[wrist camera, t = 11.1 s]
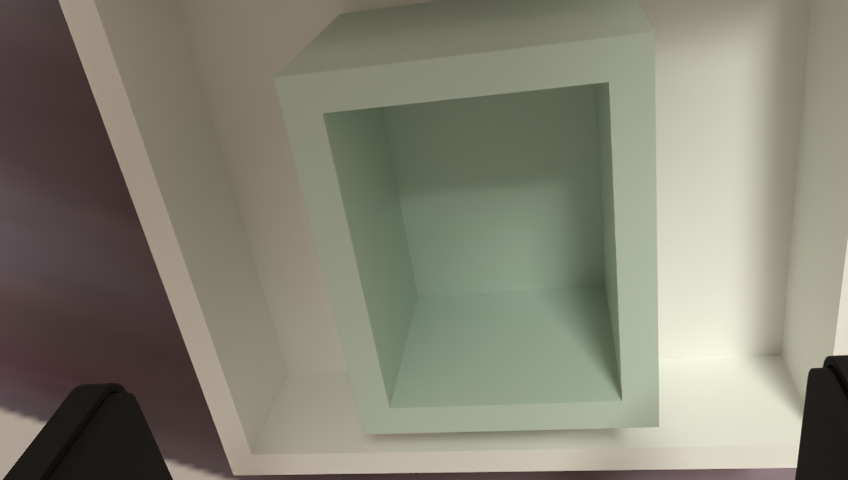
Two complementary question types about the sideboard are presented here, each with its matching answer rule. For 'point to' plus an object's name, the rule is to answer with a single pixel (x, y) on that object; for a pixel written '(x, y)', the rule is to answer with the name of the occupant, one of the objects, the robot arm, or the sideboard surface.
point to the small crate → (485, 210)
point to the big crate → (676, 232)
